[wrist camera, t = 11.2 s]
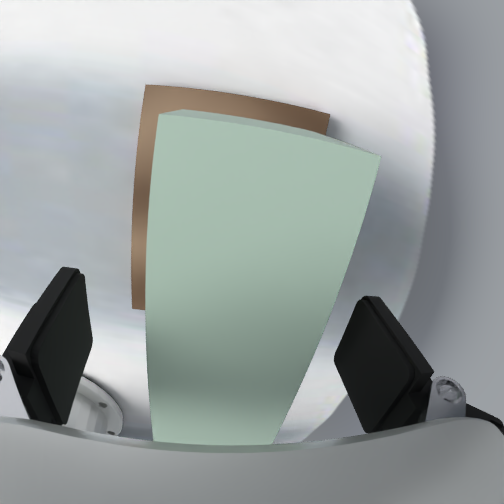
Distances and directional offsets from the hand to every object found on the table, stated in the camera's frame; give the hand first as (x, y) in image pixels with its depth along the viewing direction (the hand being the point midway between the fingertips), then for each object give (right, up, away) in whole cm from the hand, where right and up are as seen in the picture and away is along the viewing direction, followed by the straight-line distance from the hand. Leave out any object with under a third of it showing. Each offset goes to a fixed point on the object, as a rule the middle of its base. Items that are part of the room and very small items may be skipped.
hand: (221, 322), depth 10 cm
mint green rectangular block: (0, +1, +2) cm, 3 cm away
